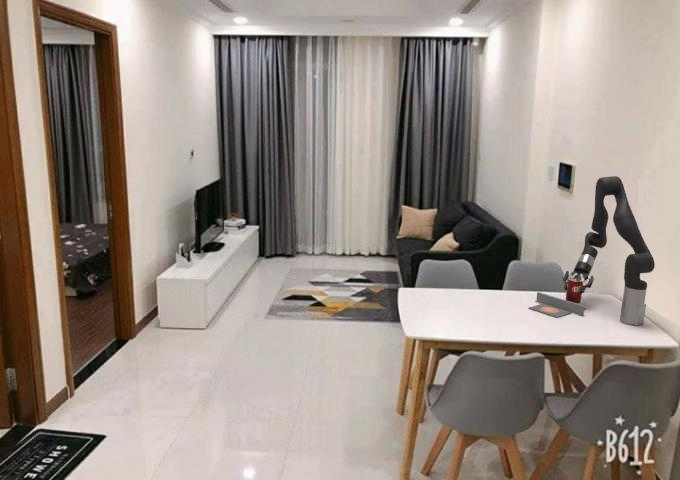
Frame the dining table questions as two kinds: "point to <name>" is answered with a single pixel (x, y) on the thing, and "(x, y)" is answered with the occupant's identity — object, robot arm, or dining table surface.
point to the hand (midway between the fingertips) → (573, 291)
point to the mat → (550, 310)
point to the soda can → (574, 290)
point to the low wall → (560, 303)
